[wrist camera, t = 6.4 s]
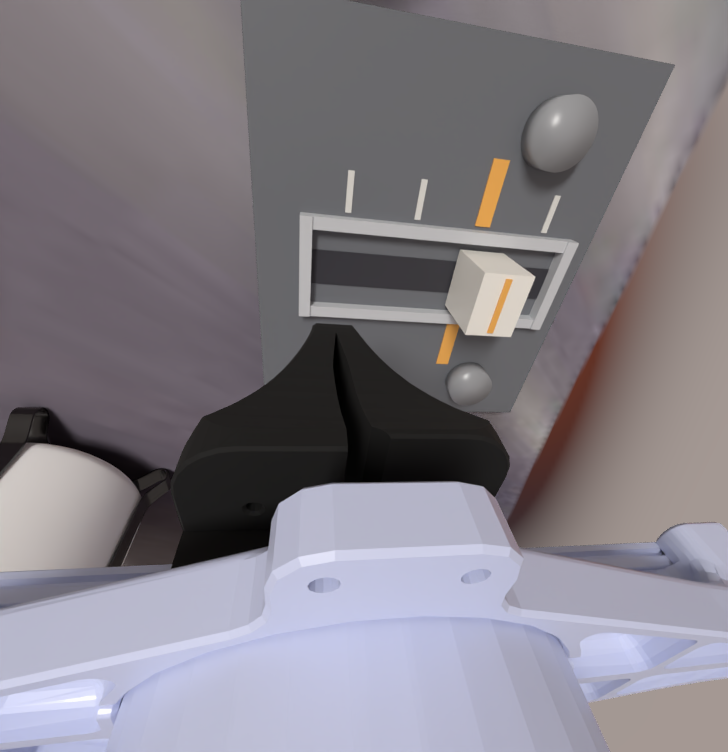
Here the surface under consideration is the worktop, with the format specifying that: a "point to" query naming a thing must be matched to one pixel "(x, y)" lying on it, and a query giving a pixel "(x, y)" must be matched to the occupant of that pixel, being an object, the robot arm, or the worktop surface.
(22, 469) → the coffee press
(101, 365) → the worktop surface
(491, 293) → the fader tab
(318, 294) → the console panel
